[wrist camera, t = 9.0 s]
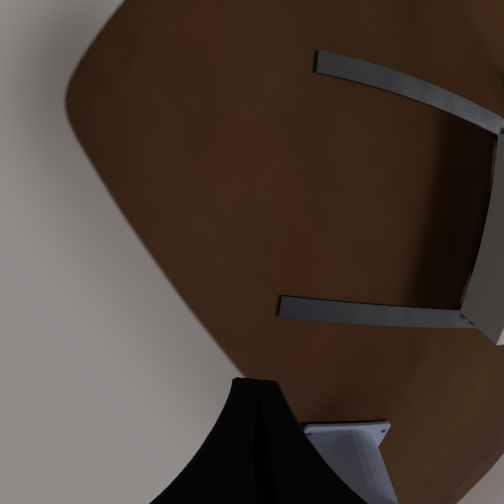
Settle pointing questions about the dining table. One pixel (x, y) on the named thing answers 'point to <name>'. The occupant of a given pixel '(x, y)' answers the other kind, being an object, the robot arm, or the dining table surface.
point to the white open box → (490, 264)
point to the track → (427, 95)
